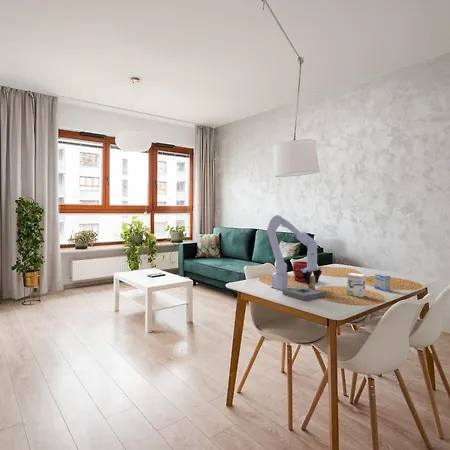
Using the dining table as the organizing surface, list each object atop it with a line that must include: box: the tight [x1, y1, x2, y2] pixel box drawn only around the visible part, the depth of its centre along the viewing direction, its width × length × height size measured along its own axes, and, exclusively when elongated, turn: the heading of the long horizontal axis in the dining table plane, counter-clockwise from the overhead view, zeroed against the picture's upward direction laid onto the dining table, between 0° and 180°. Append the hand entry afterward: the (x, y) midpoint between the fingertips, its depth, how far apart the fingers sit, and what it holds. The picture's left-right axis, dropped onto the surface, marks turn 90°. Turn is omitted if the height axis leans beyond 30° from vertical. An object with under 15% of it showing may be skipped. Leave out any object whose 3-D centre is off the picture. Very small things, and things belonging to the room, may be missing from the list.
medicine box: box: [374, 273, 391, 292], centre depth 206 cm, size 8×4×9 cm, turn 21°
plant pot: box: [292, 261, 313, 282], centre depth 231 cm, size 13×13×12 cm
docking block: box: [282, 285, 325, 302], centre depth 192 cm, size 16×16×2 cm
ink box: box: [346, 272, 366, 298], centre depth 192 cm, size 9×5×12 cm, turn 48°
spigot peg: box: [307, 275, 316, 289], centre depth 205 cm, size 4×4×8 cm
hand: (311, 283), depth 205 cm, fingers open, 7 cm apart
